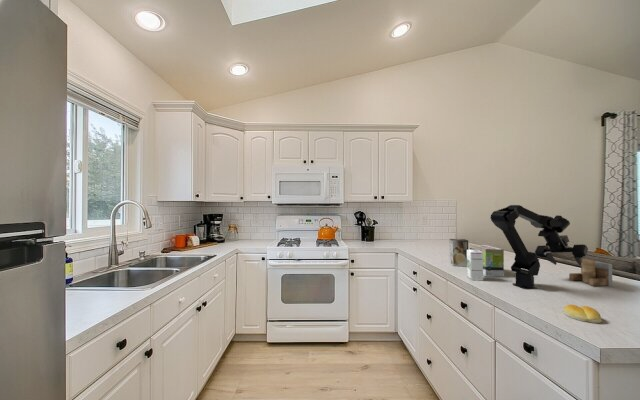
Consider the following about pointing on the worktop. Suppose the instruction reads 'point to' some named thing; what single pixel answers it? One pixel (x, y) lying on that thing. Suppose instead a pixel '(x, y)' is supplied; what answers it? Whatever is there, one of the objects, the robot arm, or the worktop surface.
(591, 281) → the cradle
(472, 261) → the syrup box
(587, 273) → the dowel
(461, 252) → the coffee box
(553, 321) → the worktop surface
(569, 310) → the bread roll
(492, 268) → the tea box
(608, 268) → the backstop wall
